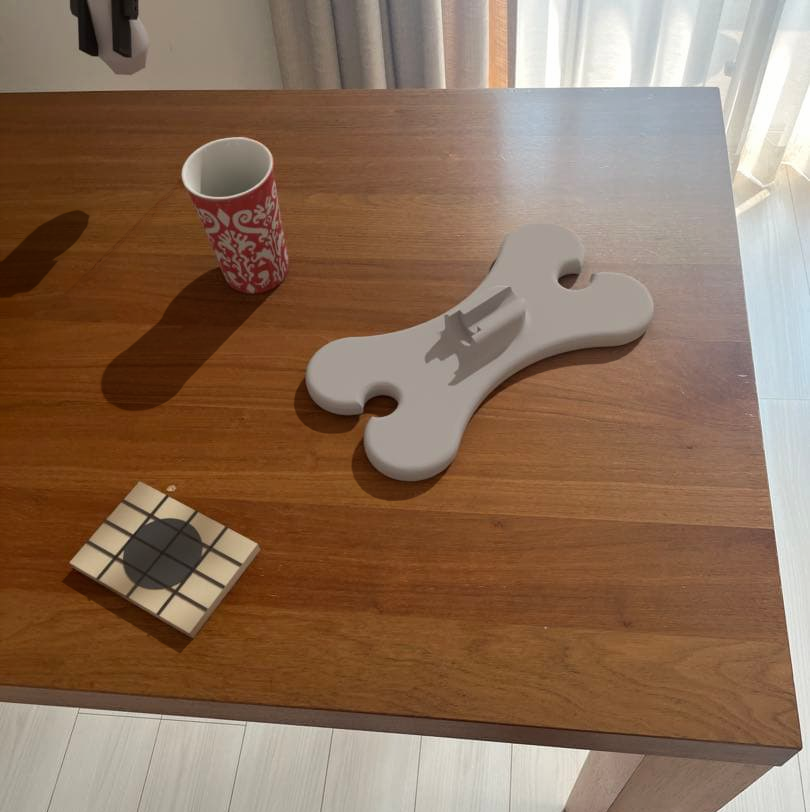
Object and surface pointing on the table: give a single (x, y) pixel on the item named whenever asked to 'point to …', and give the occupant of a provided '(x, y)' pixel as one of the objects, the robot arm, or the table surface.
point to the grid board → (166, 558)
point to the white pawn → (102, 27)
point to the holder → (475, 348)
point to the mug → (239, 211)
